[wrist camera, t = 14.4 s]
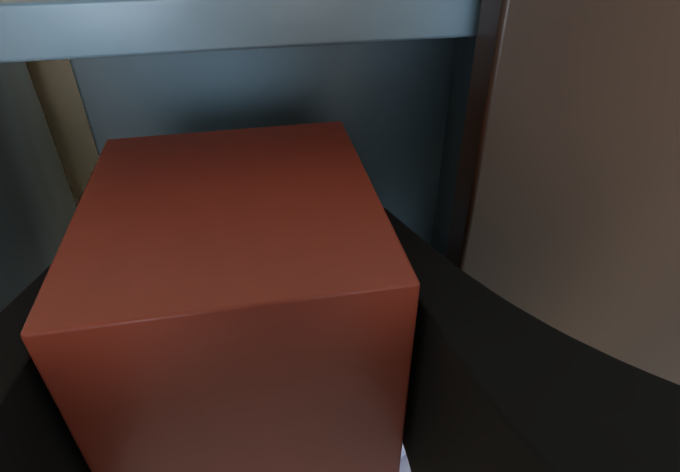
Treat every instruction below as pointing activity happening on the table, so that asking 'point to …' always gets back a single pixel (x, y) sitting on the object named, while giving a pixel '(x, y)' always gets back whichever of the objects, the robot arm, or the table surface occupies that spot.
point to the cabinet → (577, 171)
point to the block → (229, 308)
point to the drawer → (236, 94)
